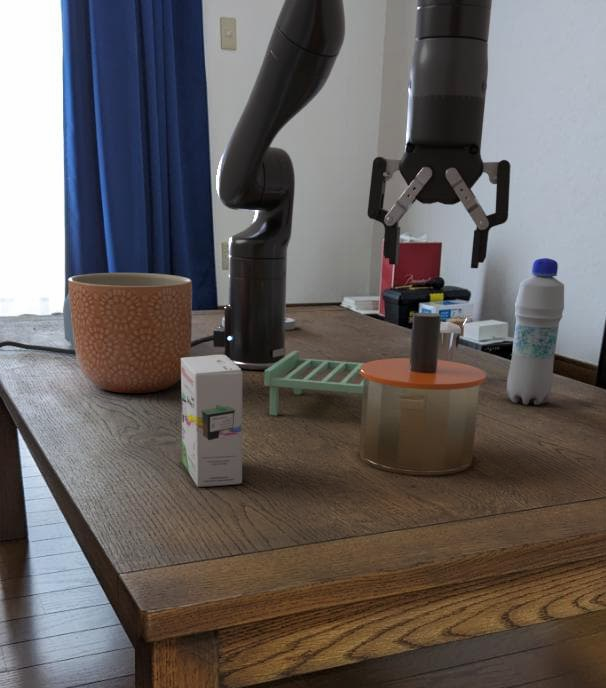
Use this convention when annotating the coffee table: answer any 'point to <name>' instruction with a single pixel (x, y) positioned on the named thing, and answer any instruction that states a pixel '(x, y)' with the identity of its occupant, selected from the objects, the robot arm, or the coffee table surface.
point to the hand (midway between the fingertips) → (433, 265)
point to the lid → (423, 363)
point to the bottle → (536, 334)
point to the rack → (309, 377)
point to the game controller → (288, 323)
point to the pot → (418, 429)
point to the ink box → (212, 420)
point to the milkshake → (448, 341)
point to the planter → (131, 329)
